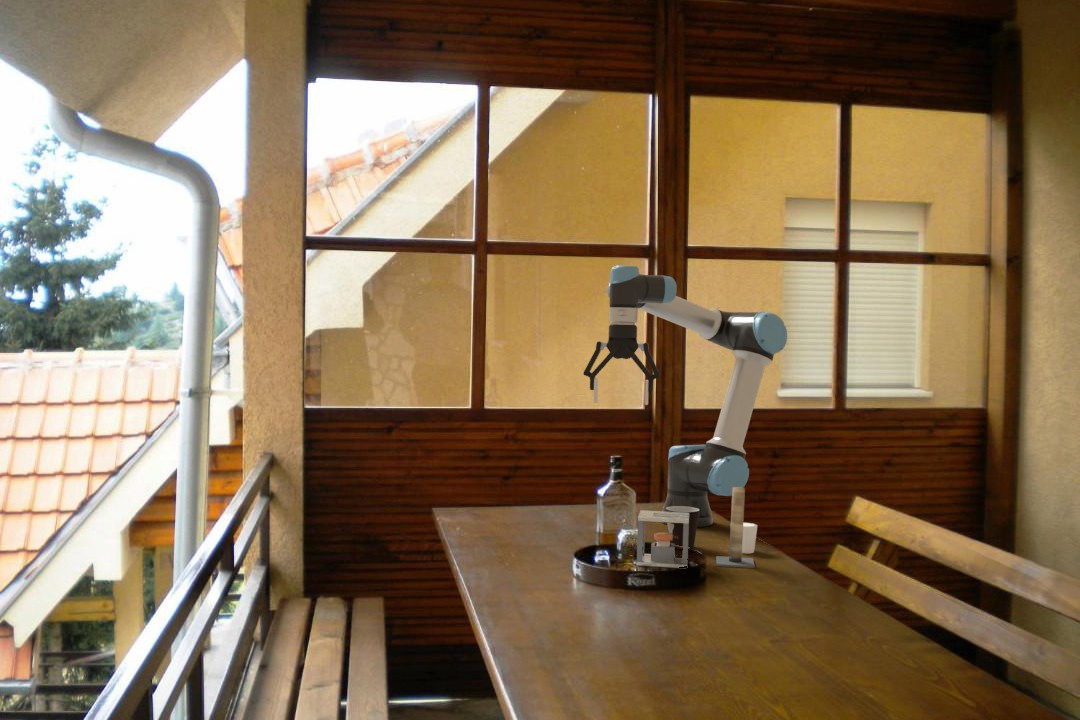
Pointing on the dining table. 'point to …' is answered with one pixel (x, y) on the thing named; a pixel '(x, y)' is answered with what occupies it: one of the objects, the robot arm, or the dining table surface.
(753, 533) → the white tapered cup
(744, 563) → the coaster
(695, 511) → the coffee mug
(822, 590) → the dining table surface
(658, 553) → the frame
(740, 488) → the dowel
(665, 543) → the button
